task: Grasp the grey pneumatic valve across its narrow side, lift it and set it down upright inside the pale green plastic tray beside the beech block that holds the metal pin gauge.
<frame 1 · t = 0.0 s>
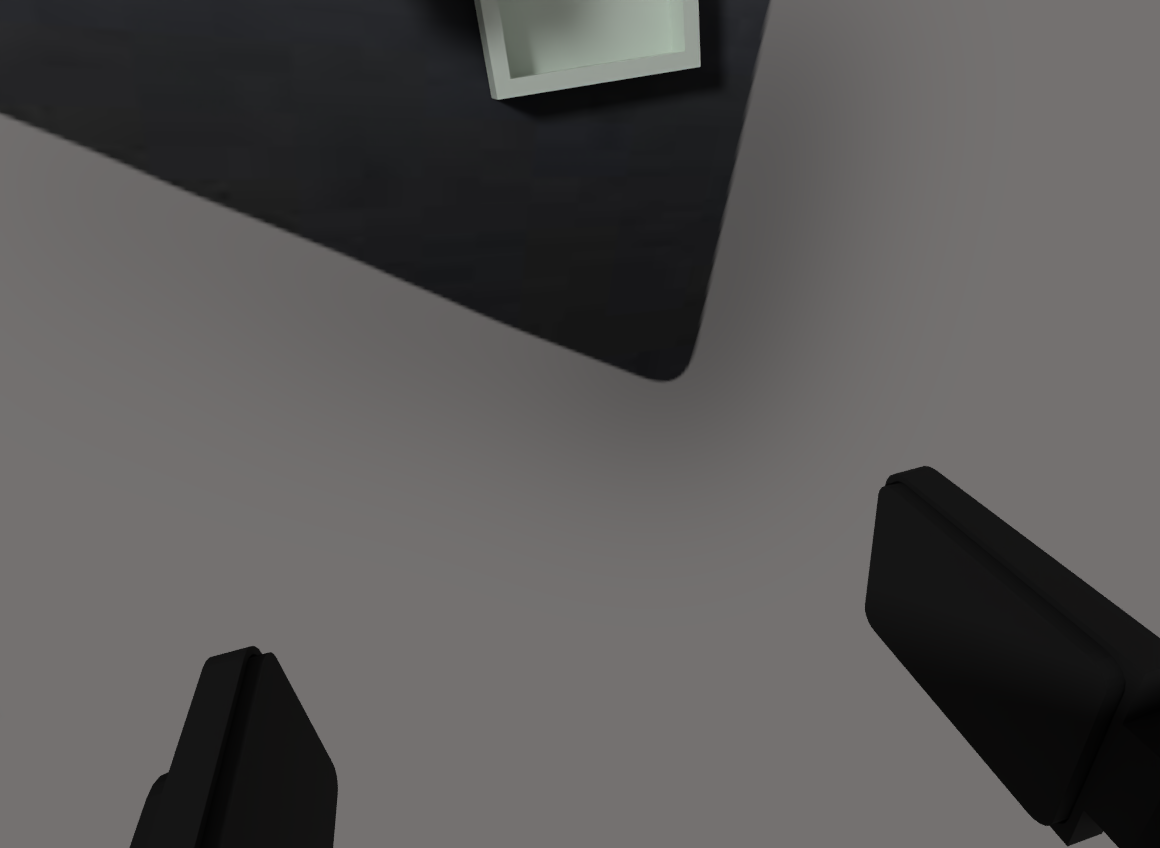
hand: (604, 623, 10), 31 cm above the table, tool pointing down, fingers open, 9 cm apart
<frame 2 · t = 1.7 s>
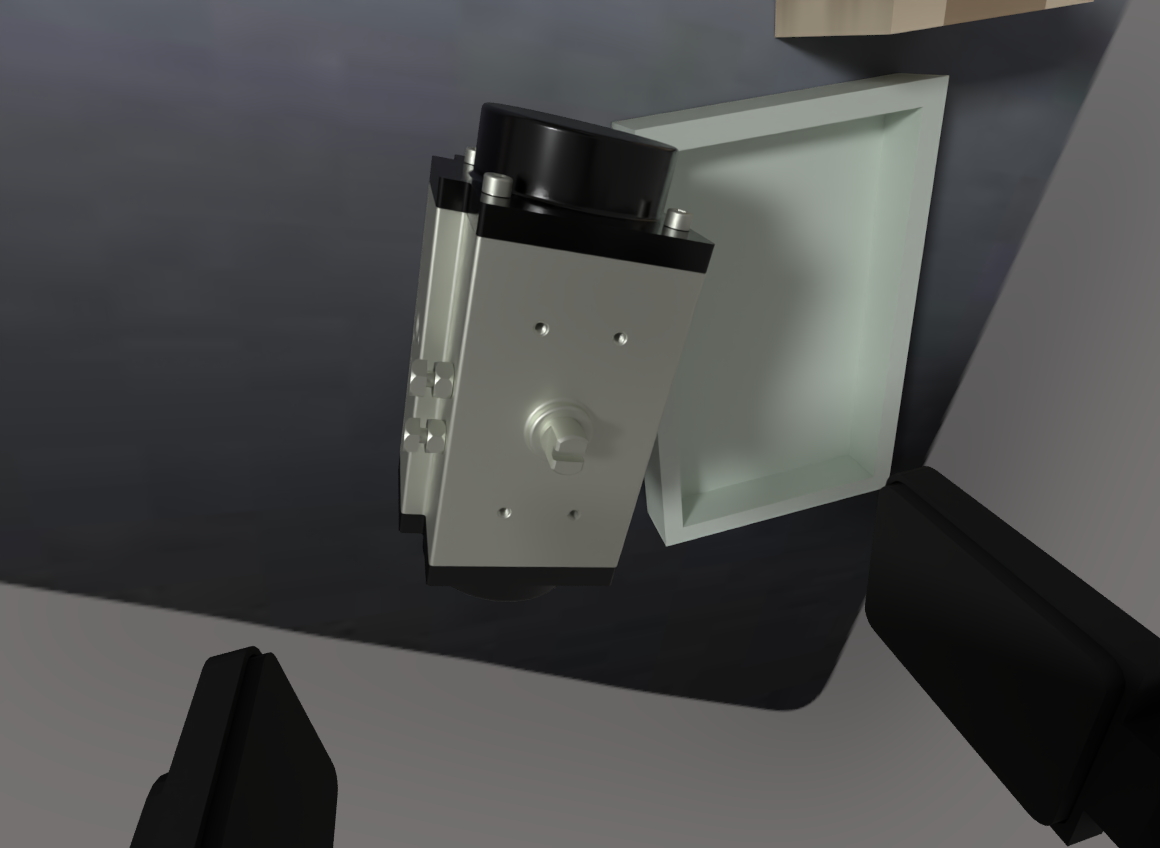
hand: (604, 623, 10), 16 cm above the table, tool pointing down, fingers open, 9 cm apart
pneumatic valve: (482, 276, 23), on the table
tray: (756, 321, 27), on the table
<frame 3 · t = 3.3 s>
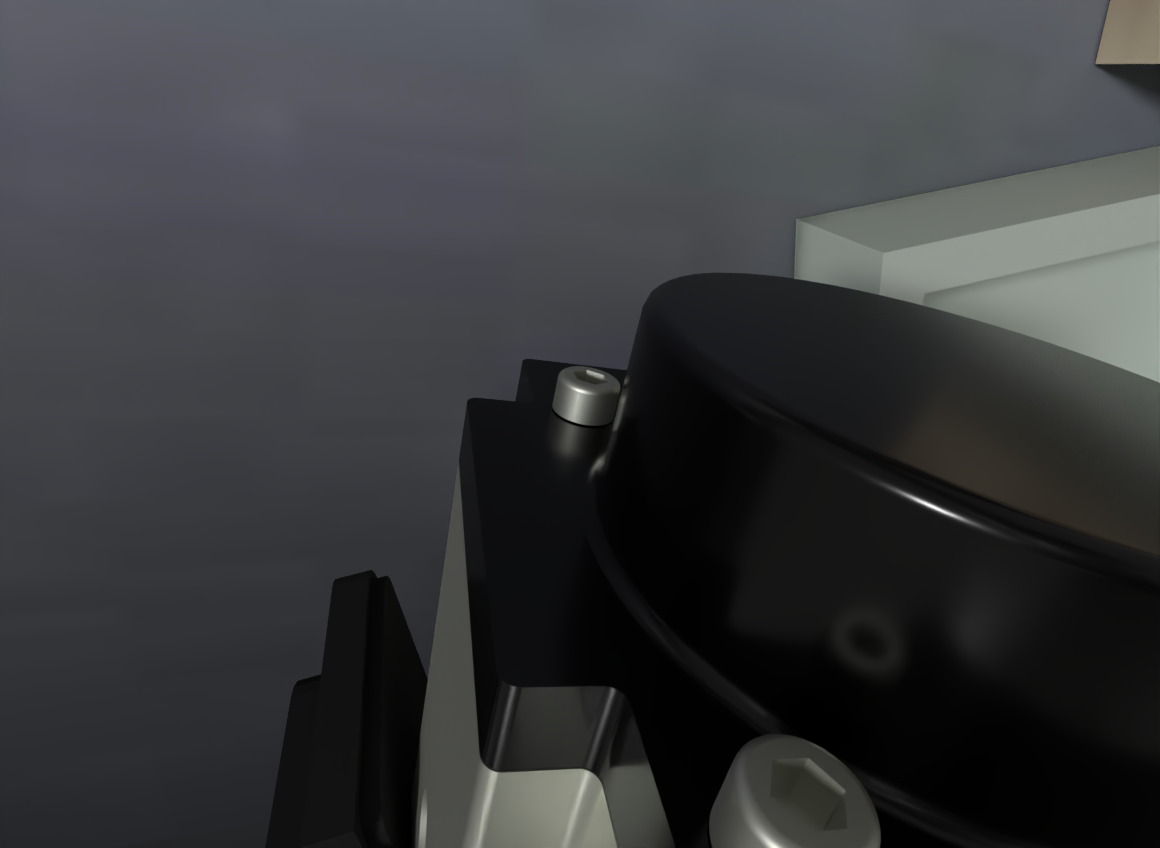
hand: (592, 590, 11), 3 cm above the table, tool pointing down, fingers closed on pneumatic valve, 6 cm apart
pneumatic valve: (550, 478, 13), on the table, touching gripper
tray: (975, 509, 17), on the table
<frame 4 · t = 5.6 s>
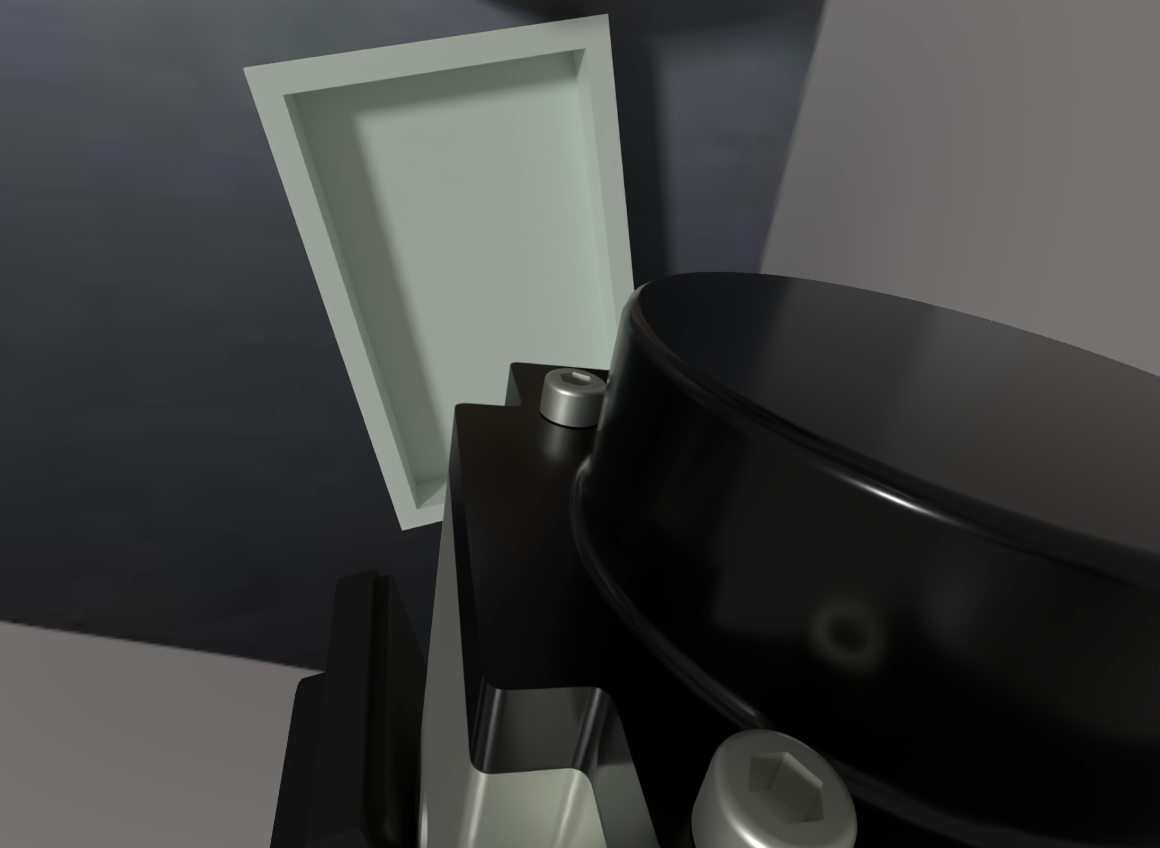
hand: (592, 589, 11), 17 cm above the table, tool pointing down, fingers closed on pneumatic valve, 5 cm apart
pneumatic valve: (546, 478, 13), point 14 cm above the table, touching gripper
tray: (482, 289, 25), on the table
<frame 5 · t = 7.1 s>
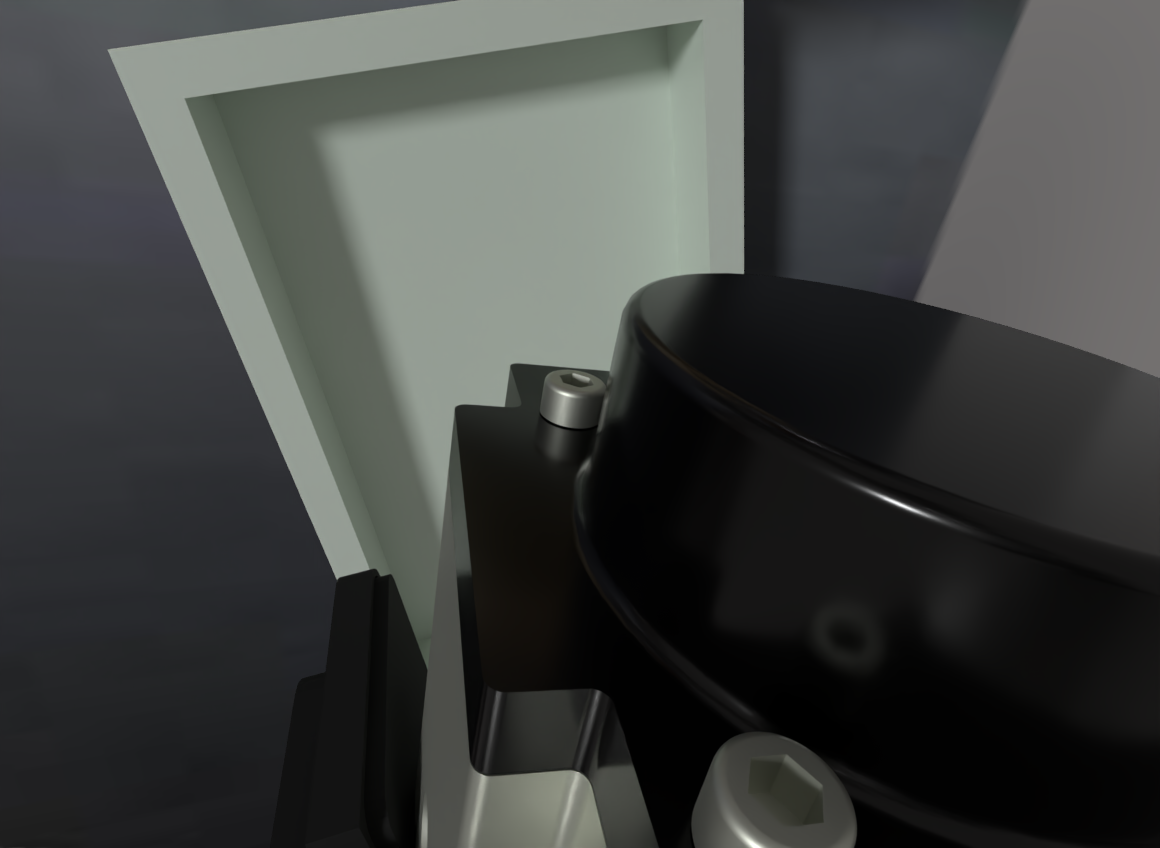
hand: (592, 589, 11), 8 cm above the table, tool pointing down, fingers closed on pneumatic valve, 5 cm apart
pneumatic valve: (546, 478, 13), point 5 cm above the table, touching gripper
tray: (514, 381, 17), on the table
when the fingers open (5 cm above the table, at t = 8.1 s): pneumatic valve drops 1 cm, resting on tray.
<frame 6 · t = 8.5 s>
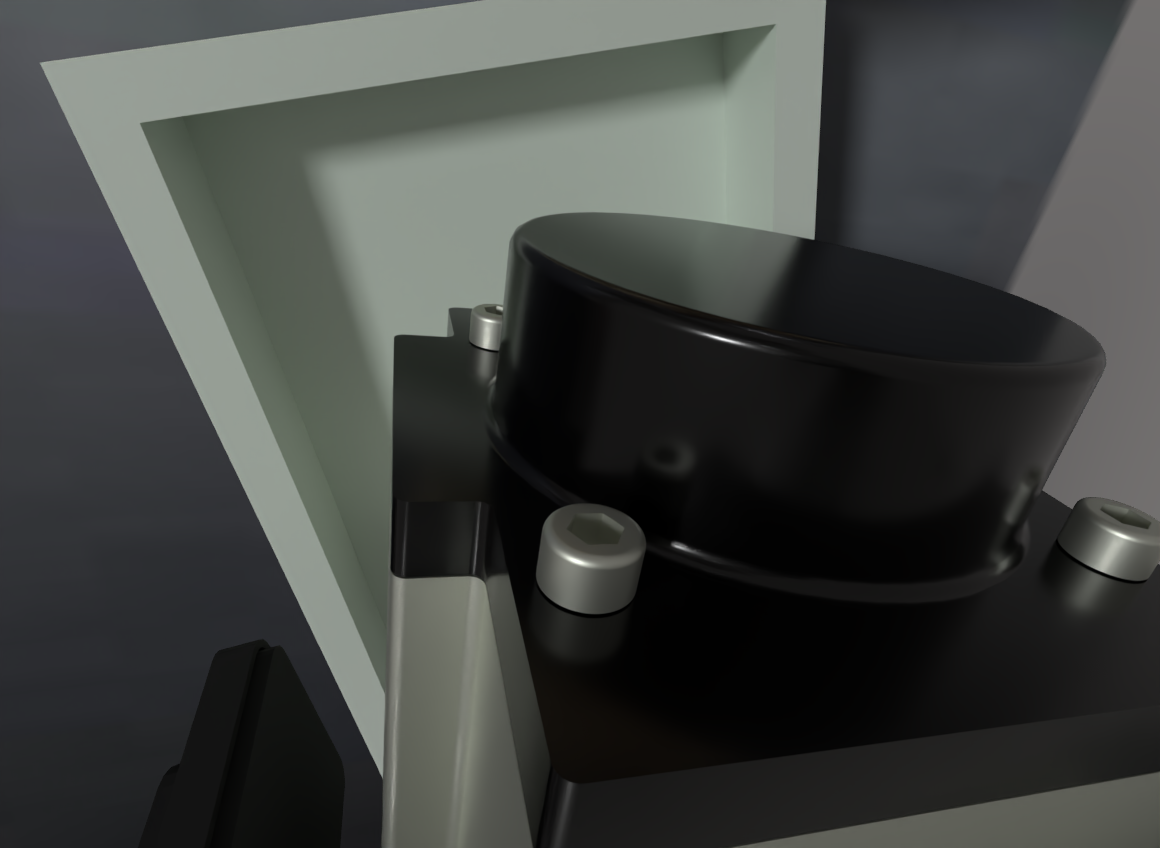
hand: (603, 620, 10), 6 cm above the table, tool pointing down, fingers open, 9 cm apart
pneumatic valve: (509, 441, 14), resting on tray
tray: (536, 437, 15), on the table
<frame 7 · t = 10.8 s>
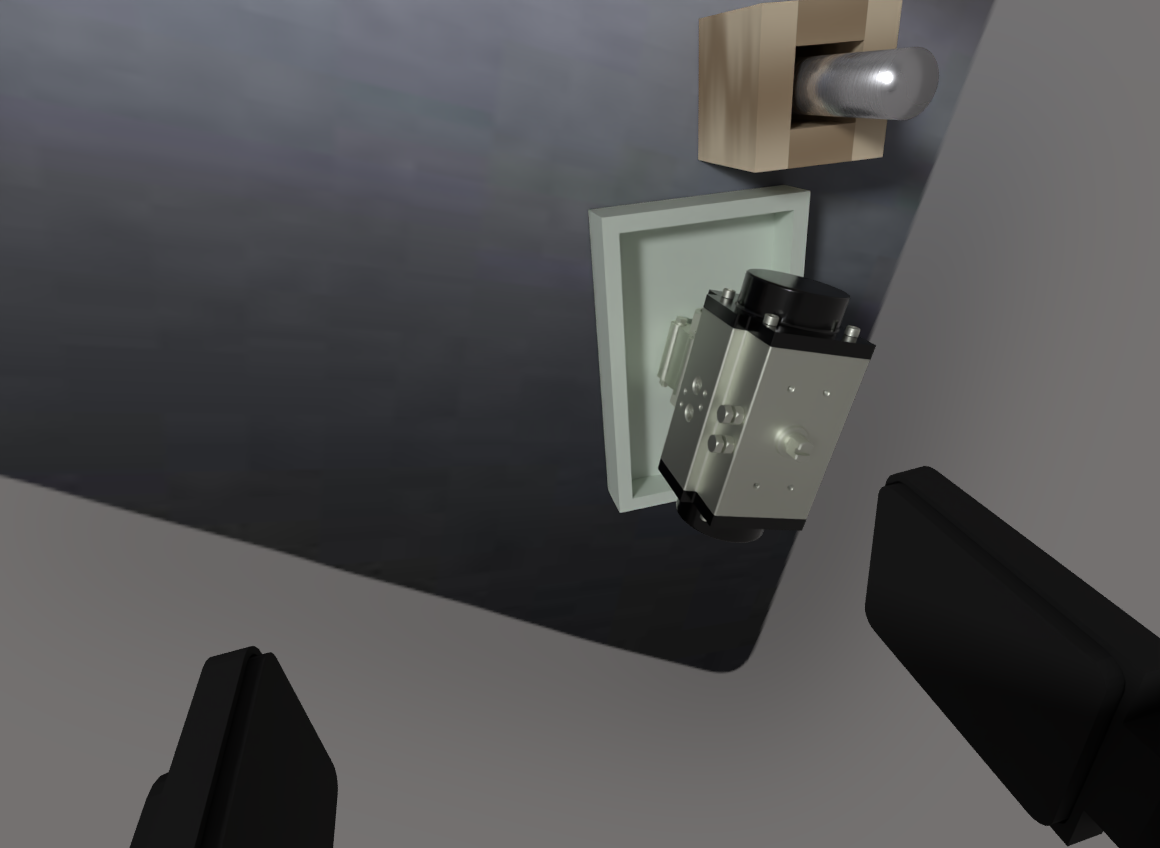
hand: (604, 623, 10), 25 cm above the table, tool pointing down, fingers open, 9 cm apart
bore block: (756, 86, 32), on the table
pneumatic valve: (681, 348, 37), resting on tray
tray: (689, 349, 37), on the table
pin gauge: (819, 85, 27), in the bore block
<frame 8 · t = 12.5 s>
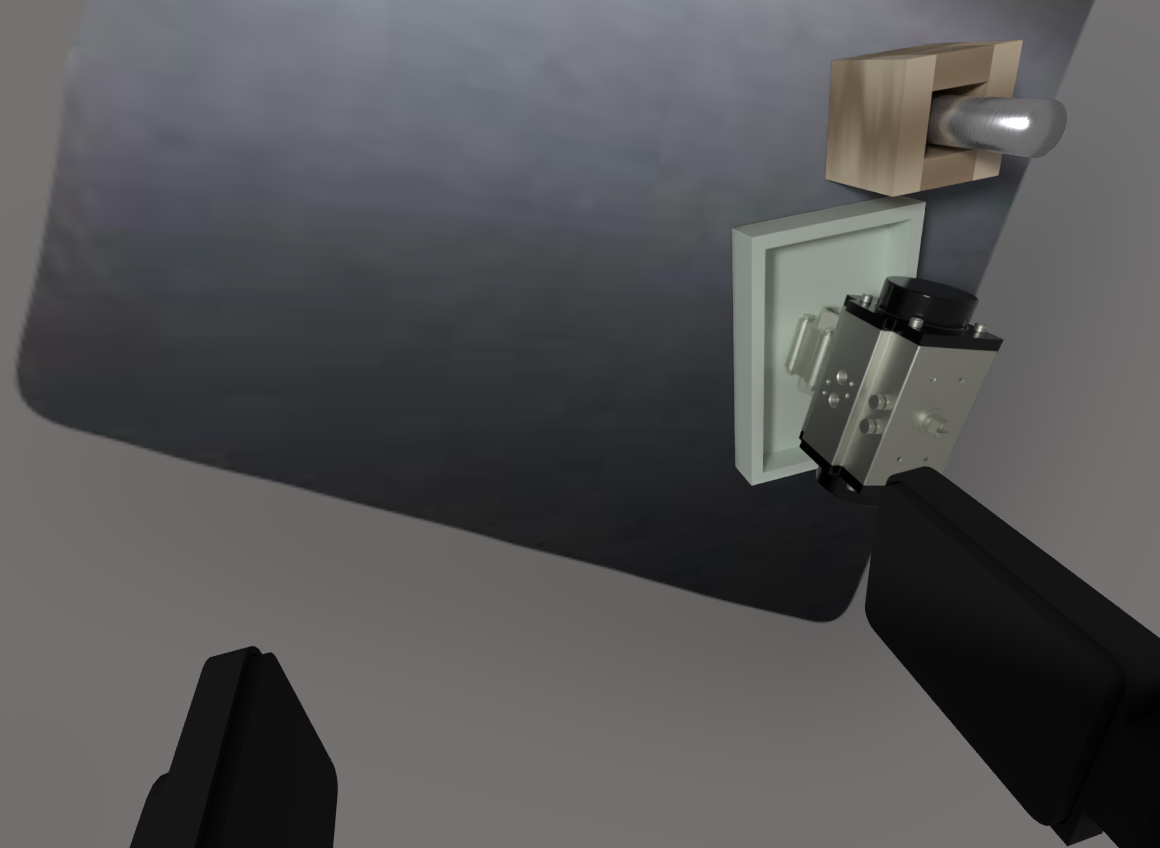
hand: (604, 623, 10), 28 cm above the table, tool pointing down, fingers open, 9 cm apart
bore block: (877, 113, 37), on the table
pneumatic valve: (804, 340, 42), resting on tray
tray: (809, 341, 43), on the table
pin gauge: (948, 120, 32), in the bore block
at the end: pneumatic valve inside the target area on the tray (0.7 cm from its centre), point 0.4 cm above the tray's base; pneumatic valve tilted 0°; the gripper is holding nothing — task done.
